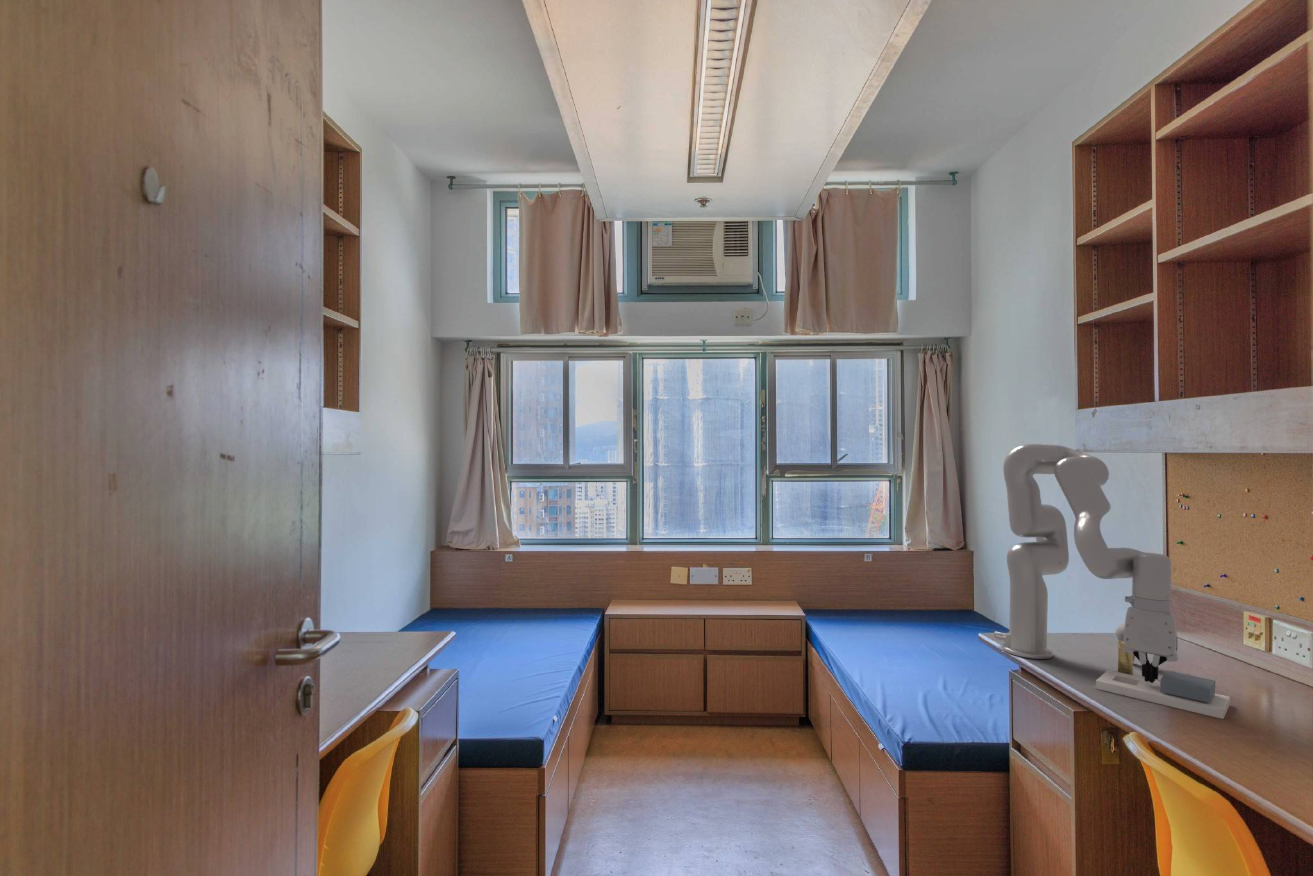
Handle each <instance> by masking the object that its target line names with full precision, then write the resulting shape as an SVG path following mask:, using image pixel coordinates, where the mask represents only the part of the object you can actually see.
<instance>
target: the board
mask: <svg viewBox="0 0 1313 876" xmlns="http://www.w3.org/2000/svg"><path fill="white" fill-rule="evenodd" d="M1095 689H1096V690H1100V691H1105V692H1108V693H1113V694H1116V695H1117V694H1118V695H1120V696H1124V695H1125V696H1126V697H1129V698H1134V699H1138V700H1142V701H1146V702H1150V703H1153V704H1157V705H1162V706H1167V707H1172V708H1176V709H1180V710H1184V711H1188V712H1193V713H1196V714H1201V715H1204V716H1209V717H1213V718H1217V719H1221V720H1224V718H1225V716H1226V715H1227V712H1228V710H1229V707H1230V705H1231V697H1230V696H1229V695H1224V694H1220V693H1216V692H1215V695H1214V696H1213V698H1212V700H1211V702H1210V703H1207V702H1203V701H1198V700H1194V699H1189V698H1185V697H1181V696H1176V695H1172V694H1168V693H1163V692H1160V680H1157V679H1155V681H1154V682H1153V683H1150V682H1145V677H1143V676H1138V675H1134V674H1133V675H1129V674H1124V673H1120V672H1118V671H1114V670H1109V669H1107V670H1106V671H1105V672H1104V673H1103V674H1101V676H1099V677H1098V678H1097V679H1096V681H1095ZM1125 696H1124V697H1125Z"/></svg>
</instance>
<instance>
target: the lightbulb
mask: <svg viewBox="0 0 1313 876" xmlns="http://www.w3.org/2000/svg"><path fill="white" fill-rule="evenodd" d="M1124 627H1125V622H1123V623H1121V624H1120V625H1118V626H1117V628H1116V630H1115V635H1116V638H1117V640H1118V641H1124ZM1135 658H1136V657H1135V656H1134V655H1133V663H1134V662H1135Z"/></svg>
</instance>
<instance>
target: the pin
mask: <svg viewBox="0 0 1313 876" xmlns="http://www.w3.org/2000/svg"><path fill="white" fill-rule="evenodd" d="M1117 646H1118V647H1117V648H1118V649H1117V672H1120V673H1124V674H1129V675H1133V676H1134V662H1133V654H1130V653H1127V652H1125V651H1124V650H1123V648H1124V641H1119V640H1118V645H1117Z"/></svg>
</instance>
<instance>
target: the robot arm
mask: <svg viewBox="0 0 1313 876" xmlns="http://www.w3.org/2000/svg"><path fill="white" fill-rule="evenodd" d="M1002 466H1003V468H1002V471H1003V478H1004V482H1005V486H1006V492H1007V508H1008V520H1009V526H1010V530H1011V532H1012V533H1013V534H1014V535H1015V536H1017V537H1021V538H1035V541H1029V542H1025V541H1024V542H1020V543H1017V544H1014V545H1013V546H1012V547H1010V549H1009V550H1008V552H1007V555H1006V564H1007V569H1008V576H1009V631H1008V632H1006V633H1004V632H1000V631H994V634H993V637H994V639H995V640H997V641H1003V642H1004V643H1003V644H1002V650H1004V651H1005V652H1007V653H1008V654H1011V655H1014V656H1017V657H1021V658H1027V659H1037V660H1038V659H1039V660H1044V659H1045V660H1047V659H1048V660H1049V659H1050V658H1053V655H1054V652H1053V651H1052V650H1051V649H1050V648H1048V609H1049V608H1048V607H1049V606H1048V601H1049V600H1048V597H1049V595H1048V594H1049V593H1048V588H1047V585H1046V583H1045V579H1044V577H1043V576H1050V575H1058V574H1061V573H1063V572H1064V571H1066V569H1067V567H1068V566H1069V561H1070V553H1069V543H1068V532H1067V523H1066V519H1065V517H1064V515H1063V513H1062V512H1061V511H1060V510H1059V508H1057V507H1056V506H1054V505H1051V504H1043V503H1042V500H1041V499H1042V498H1041V489H1040V486H1039V484H1038V482H1037V481H1036V479H1035V478H1034V475H1035V474H1036V475H1037V474H1038V475H1039V474H1041V475H1054V476H1055V477H1054V478H1056V481H1057V483H1058V485H1059V487H1060V490H1061V491H1062V493H1063V495H1064V496H1065V499H1066V502H1067V503H1068V505H1069V507H1070V509H1071V511H1072V513H1073V515H1074V518H1075V520H1074V525H1073V538H1074V544H1075V547H1076V549H1077V552H1078V553H1079V556H1080V558H1081V559H1082V561H1083V564H1084V565H1085V566H1086V568H1087V569H1088V571H1089V572H1090V573H1091V574H1092V575H1094V576H1095V577H1097V578H1099V579H1103V580H1113V579H1114V580H1115V579H1130V578H1131V579H1132V587H1131V588H1132V589H1131V590H1132V591H1131V592H1132V593H1131V595H1129V596H1128V595H1127V596H1125V597H1124V601H1125V602H1126V603H1129V604H1130V605H1131V606H1129V607H1127V611H1126V613H1125V614H1126V615H1125V621H1124V623H1125V627H1124V648H1123V650H1124V651H1125V652H1127V653H1130V654H1133V655H1134V656H1135V658H1136V659H1137V660H1138V661H1139V663H1140V664H1141V677H1143V678H1145V682H1150V683H1153V682H1154V681H1155V680H1159V666H1160V665H1162V664H1164V663H1165V662H1178V661H1179V656H1178V646H1179V645H1178V631H1177V623H1176V617H1175V613H1174V612H1171V607H1172V605H1171V604H1172V603H1171V598H1172V593H1171V592H1172V560H1171V558H1170V557H1169V556H1167V555H1165V554H1161V553H1155V552H1145V551H1141V550H1138V549H1134V548H1130V547H1108V544H1107V543H1106V541H1105V539H1104V538H1103V535H1102V532H1101V522H1102V519H1103V517H1104V516H1105V515H1106V514H1108V513H1109V512H1110V511H1111V508H1112V507H1111V504H1110V502H1109V500H1108V498H1107V496H1106V495H1105V493H1104V491H1103V488H1102V486H1104V485H1105V484H1106V483H1107V482H1108V480H1109V477H1110V473H1109V471H1110V470H1109V468H1108V467H1107V465H1106V463H1105V462H1104V461H1103V460H1101V459H1100V458H1098V457H1096V456H1093V455H1091V454H1087V453H1084V452H1081V451H1078V450H1075V449H1072V448H1071V447H1068V446H1064V445H1060V444H1041V443H1039V444H1037V443H1030V444H1022V445H1019V446H1016V447H1014V448H1013V449H1012V450H1010V451H1009V452H1008V454H1007V455H1006V456H1005V459H1004V461H1003V465H1002ZM1148 654H1149V655H1153V657H1152V661H1151V662H1150V660H1149V657H1148V656H1149V655H1148Z"/></svg>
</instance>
